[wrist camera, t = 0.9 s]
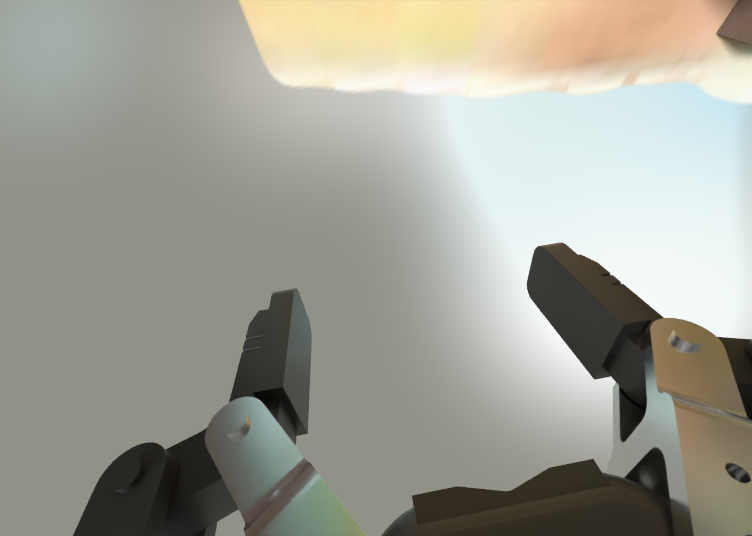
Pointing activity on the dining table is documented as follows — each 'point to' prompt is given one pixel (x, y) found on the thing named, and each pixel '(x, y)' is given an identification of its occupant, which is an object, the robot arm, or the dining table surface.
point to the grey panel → (739, 23)
